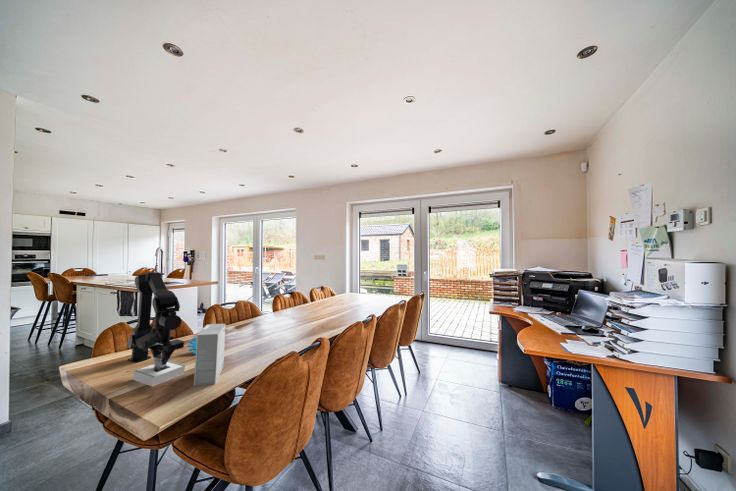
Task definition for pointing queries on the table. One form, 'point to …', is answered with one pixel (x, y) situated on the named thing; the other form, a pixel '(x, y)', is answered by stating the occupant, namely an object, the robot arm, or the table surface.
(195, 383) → the hard drive box
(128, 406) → the table surface
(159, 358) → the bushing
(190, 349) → the gear
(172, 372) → the jig
